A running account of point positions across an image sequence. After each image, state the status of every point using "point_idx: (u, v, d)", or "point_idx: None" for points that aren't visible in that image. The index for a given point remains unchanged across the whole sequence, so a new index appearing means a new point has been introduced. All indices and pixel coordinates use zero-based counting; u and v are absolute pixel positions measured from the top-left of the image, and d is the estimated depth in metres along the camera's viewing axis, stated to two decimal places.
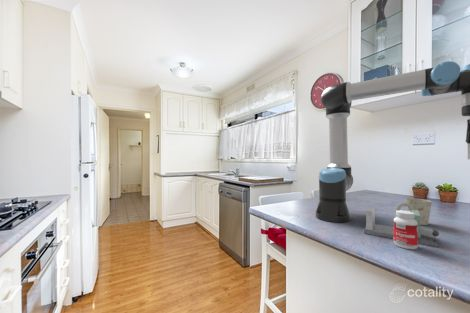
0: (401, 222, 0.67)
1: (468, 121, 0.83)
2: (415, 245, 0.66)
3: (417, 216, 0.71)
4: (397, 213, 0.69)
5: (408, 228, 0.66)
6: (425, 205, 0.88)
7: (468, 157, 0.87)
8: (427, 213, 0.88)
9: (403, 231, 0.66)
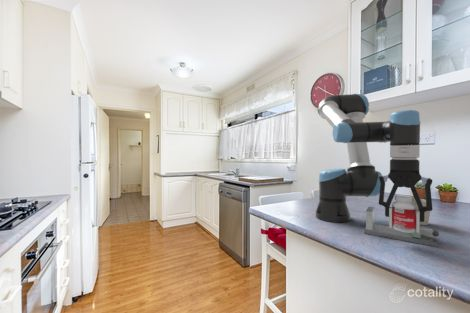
0: (399, 206, 0.68)
1: None
2: (413, 228, 0.66)
3: None
4: (396, 198, 0.69)
5: (407, 212, 0.66)
6: (425, 205, 0.88)
7: None
8: (427, 213, 0.88)
9: (402, 215, 0.67)
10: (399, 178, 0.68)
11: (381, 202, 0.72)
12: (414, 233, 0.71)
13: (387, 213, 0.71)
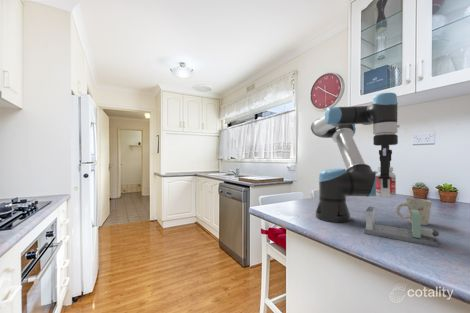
0: (394, 175, 0.77)
1: None
2: None
3: (417, 216, 0.71)
4: (389, 168, 0.78)
5: None
6: (425, 205, 0.88)
7: None
8: (427, 213, 0.88)
9: (395, 182, 0.78)
10: (391, 151, 0.78)
11: None
12: (414, 233, 0.71)
13: None
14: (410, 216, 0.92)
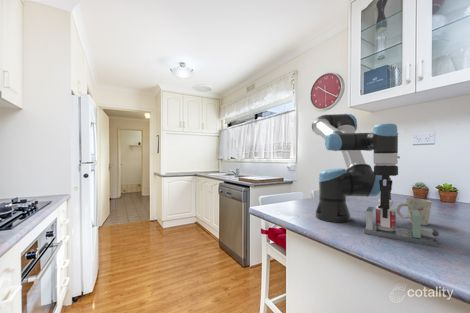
0: (394, 209, 0.77)
1: None
2: None
3: (417, 216, 0.71)
4: (389, 202, 0.78)
5: None
6: (425, 205, 0.88)
7: None
8: (427, 213, 0.88)
9: (395, 216, 0.78)
10: None
11: None
12: (414, 233, 0.71)
13: None
14: (410, 216, 0.92)
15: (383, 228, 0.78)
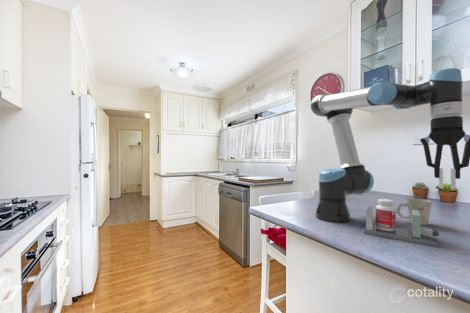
0: (394, 209, 0.77)
1: None
2: None
3: (417, 216, 0.71)
4: (389, 202, 0.78)
5: None
6: (425, 205, 0.88)
7: None
8: (427, 213, 0.88)
9: (395, 216, 0.78)
10: (442, 136, 0.69)
11: (430, 163, 0.71)
12: (414, 233, 0.71)
13: (437, 174, 0.70)
14: (410, 216, 0.92)
15: (383, 228, 0.78)
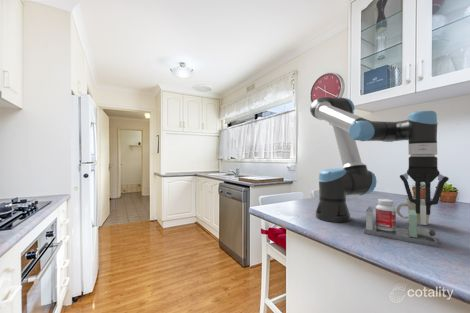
0: (394, 209, 0.77)
1: None
2: None
3: (414, 216, 0.71)
4: (389, 202, 0.78)
5: None
6: None
7: None
8: None
9: (395, 216, 0.78)
10: (418, 174, 0.73)
11: (411, 199, 0.74)
12: (411, 232, 0.72)
13: (418, 210, 0.74)
14: None
15: (383, 228, 0.78)
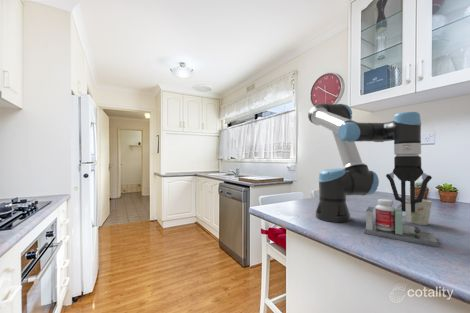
0: (394, 209, 0.77)
1: None
2: None
3: (399, 214, 0.74)
4: (388, 202, 0.78)
5: None
6: (425, 205, 0.88)
7: None
8: (427, 213, 0.88)
9: None
10: (403, 173, 0.75)
11: (397, 197, 0.77)
12: (396, 230, 0.74)
13: (403, 208, 0.76)
14: None
15: (383, 228, 0.78)
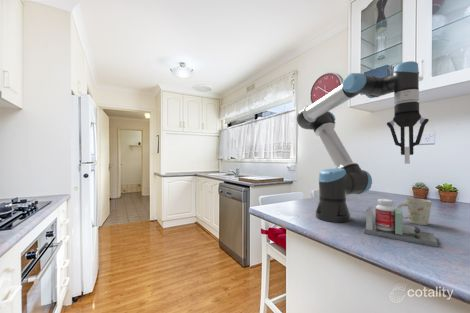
0: (394, 209, 0.77)
1: None
2: None
3: (399, 214, 0.74)
4: (388, 202, 0.78)
5: None
6: (425, 205, 0.88)
7: None
8: (427, 213, 0.88)
9: None
10: (402, 119, 0.81)
11: (397, 142, 0.83)
12: (396, 230, 0.74)
13: (403, 152, 0.82)
14: (410, 216, 0.92)
15: (383, 228, 0.78)
